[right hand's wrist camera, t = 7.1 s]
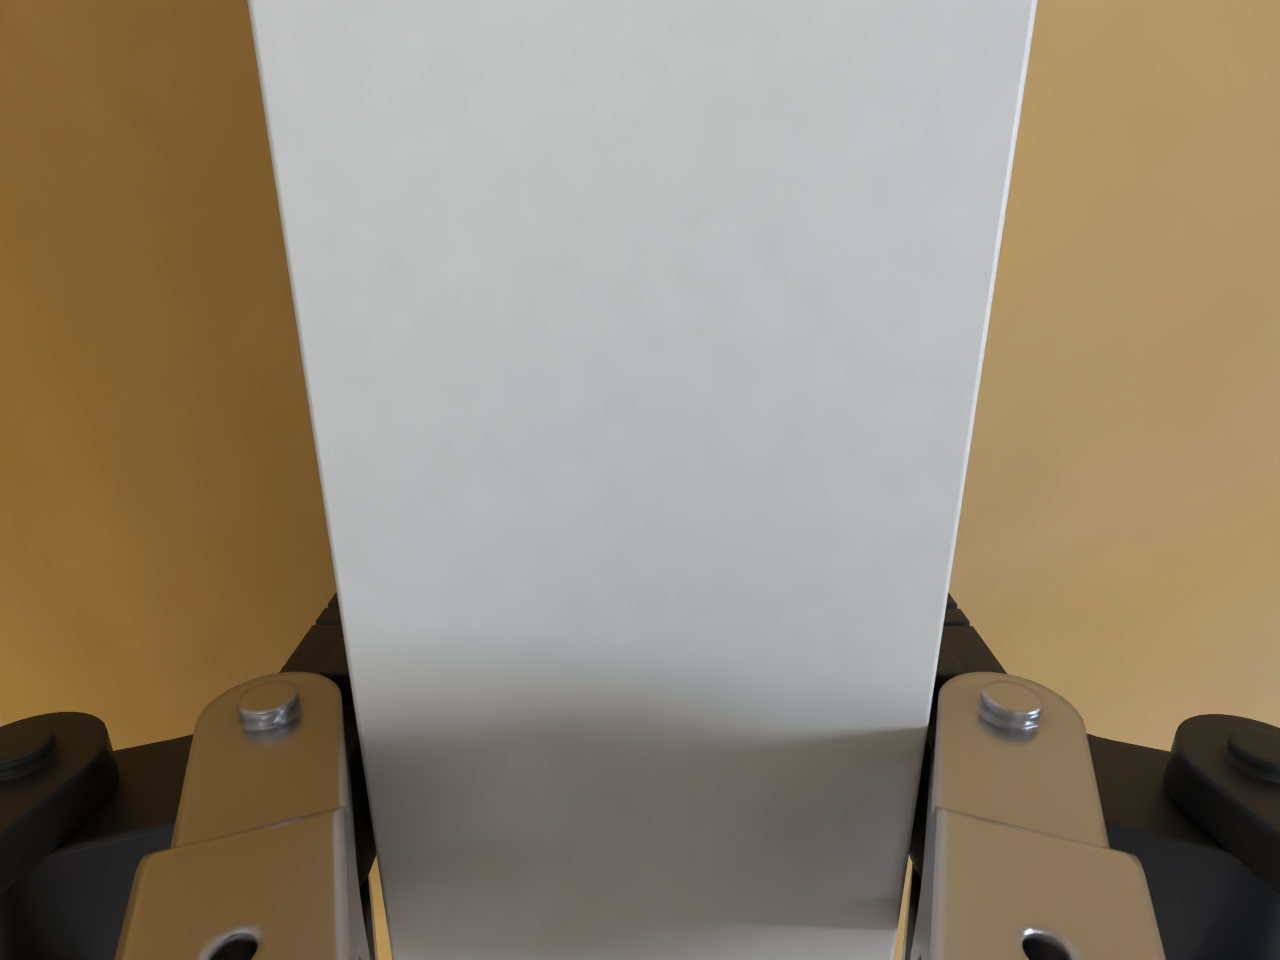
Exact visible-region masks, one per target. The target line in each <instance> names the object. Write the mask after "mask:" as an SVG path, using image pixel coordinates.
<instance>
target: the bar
mask: <svg viewBox="0 0 1280 960" xmlns="http://www.w3.org/2000/svg"><path fill="white" fill-rule="evenodd" d="M247 1H248V8H249V14H250V21H251V27H252V34H253V41H254V47H255V54H256V61H257V67H258V74H259V80H260V87H261V94H262V100H263V107H264V113H265V120H266V127H267V133H268V140H269V146H270V153H271V160H272V166H273V173H274V179H275V186H276V193H277V199H278V206H279V212H280V219H281V226H282V232H283V239H284V246H285V252H286V259H287V265H288V272H289V279H290V285H291V292H292V298H293V305H294V312H295V318H296V325H297V331H298V338H299V345H300V351H301V358H302V364H303V371H304V378H305V384H306V391H307V397H308V404H309V411H310V417H311V424H312V431H313V437H314V444H315V450H316V457H317V464H318V470H319V477H320V483H321V490H322V497H323V503H324V510H325V516H326V523H327V530H328V536H329V543H330V549H331V556H332V563H333V569H334V576H335V583H336V589H337V596H338V602H339V609H340V616H341V622H342V629H343V635H344V642H345V649H346V655H347V662H348V668H349V675H350V682H351V688H352V695H353V701H354V708H355V715H356V721H357V728H358V734H359V741H360V748H361V754H362V761H363V768H364V774H365V781H366V787H367V794H368V801H369V807H370V814H371V820H372V827H373V834H374V840H375V847H376V853H377V860H378V867H379V873H380V880H381V886H382V893H383V900H384V906H385V913H386V919H387V926H388V933H389V939H390V946H391V953H392V959H393V960H893V955H894V948H895V942H896V935H897V928H898V922H899V915H900V909H901V902H902V895H903V889H904V882H905V875H906V869H907V862H908V855H909V849H910V842H911V836H912V829H913V822H914V816H915V809H916V802H917V796H918V789H919V782H920V776H921V769H922V763H923V756H924V749H925V743H926V736H927V729H928V723H929V716H930V709H931V703H932V696H933V690H934V683H935V676H936V670H937V663H938V656H939V650H940V643H941V636H942V630H943V623H944V617H945V610H946V603H947V597H948V590H949V583H950V577H951V570H952V563H953V557H954V550H955V544H956V537H957V530H958V524H959V517H960V510H961V504H962V497H963V490H964V484H965V477H966V471H967V464H968V457H969V451H970V444H971V437H972V431H973V424H974V417H975V411H976V404H977V397H978V391H979V384H980V378H981V371H982V364H983V358H984V351H985V344H986V338H987V331H988V324H989V318H990V311H991V305H992V298H993V291H994V285H995V278H996V271H997V265H998V258H999V251H1000V245H1001V238H1002V232H1003V225H1004V218H1005V212H1006V205H1007V198H1008V192H1009V185H1010V178H1011V172H1012V165H1013V159H1014V152H1015V145H1016V139H1017V132H1018V125H1019V119H1020V112H1021V105H1022V99H1023V92H1024V86H1025V79H1026V72H1027V66H1028V59H1029V52H1030V46H1031V39H1032V32H1033V26H1034V19H1035V13H1036V6H1037V0H247Z"/></svg>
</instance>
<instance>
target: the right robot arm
mask: <svg viewBox="0 0 1280 960" xmlns="http://www.w3.org/2000/svg"><path fill="white" fill-rule="evenodd" d="M376 854H377V853H376V847H375V840H374V834H373V827H372V820H371V814H370V807H369V801H368V794H367V787H366V781H365V774H364V768H363V761H362V754H361V748H360V741H359V734H358V728H357V721H356V715H355V708H354V701H353V695H352V688H351V682H350V675H349V668H348V662H347V655H346V649H345V642H344V635H343V629H342V622H341V616H340V609H339V602H338V596H337V592H336V594H335V595H334V596H333V598H332V599H331V601H330V602H329V603H328V608H325V609H324V610H323V612H322V613H321V615H320V616H319V617H318V619H317V620H316V625H313V626H312V627H311V629H310V630H309V631H308V633H307V634H306V636H305V637H304V638H303V640H302V641H301V643H300V644H299V645H298V647H297V648H296V650H295V651H294V653H293V654H292V655H291V657H290V658H289V660H288V661H287V662H286V664H285V665H284V667H283V668H282V669H281V671H280V672H279V673H277V674H271V675H267V676H263V677H259V678H256V679H253V680H250V681H247V682H245V683H242V684H240V685H238V686H236V687H234V688H232V689H230V690H228V691H226V692H225V693H223V694H222V695H220V696H218V697H217V698H216V699H215V700H213V701H212V702H211V703H210V704H209V705H208V706H207V707H206V708H205V709H204V710H203V711H202V713H201V714H200V716H199V717H198V719H197V722H196V725H195V729H194V734H193V735H189V736H185V737H181V738H176V739H171V740H166V741H161V742H156V743H151V744H146V745H141V746H136V747H131V748H126V749H121V750H116V751H113V749H112V746H111V742H110V738H109V735H108V731H107V728H106V726H105V724H104V723H103V722H102V721H101V720H100V719H99V718H97V717H95V716H93V715H90V714H86V713H79V712H58V713H49V714H44V715H38V716H33V717H30V718H26V719H23V720H19V721H16V722H13V723H10V724H7V725H4V726H2V727H0V960H378V955H377V944H376V932H375V921H374V909H373V898H372V890H371V883H370V877H369V872H370V870H371V867H372V865H373V862H374V859H375V857H376ZM909 855H910V858H911V860H912V863H913V864H912V870H911V877H910V883H909V890H908V898H907V909H906V921H905V932H904V944H903V955H902V960H1280V728H1278V727H1275V726H1272V725H1269V724H1266V723H1263V722H1260V721H1256V720H1252V719H1248V718H1243V717H1238V716H1232V715H1223V714H1207V715H1199V716H1195V717H1191V718H1189V719H1187V720H1185V721H1183V722H1182V723H1181V724H1180V725H1179V727H1178V729H1177V731H1176V734H1175V738H1174V741H1173V745H1172V749H1171V752H1169V751H1164V750H1158V749H1153V748H1148V747H1143V746H1138V745H1133V744H1128V743H1123V742H1118V741H1113V740H1109V739H1105V738H1100V737H1096V736H1093V735H1090V734H1087V733H1086V729H1085V725H1084V722H1083V719H1082V717H1081V716H1080V714H1079V713H1078V711H1077V710H1076V709H1075V708H1074V707H1073V706H1072V705H1071V704H1070V703H1069V702H1068V701H1067V700H1065V699H1064V698H1063V697H1062V696H1060V695H1058V694H1057V693H1055V692H1054V691H1052V690H1050V689H1048V688H1046V687H1044V686H1042V685H1040V684H1038V683H1035V682H1033V681H1030V680H1027V679H1024V678H1021V677H1017V676H1013V675H1009V674H1007V673H1006V672H1005V670H1004V669H1003V668H1002V666H1001V665H1000V663H999V662H998V661H997V659H996V658H995V656H994V655H993V654H992V652H991V651H990V650H989V648H988V647H987V645H986V644H985V643H984V641H983V640H982V638H981V637H980V636H979V634H978V633H977V632H976V630H975V629H974V627H973V626H970V625H969V620H968V619H967V618H966V616H965V615H964V614H963V612H962V611H961V609H957V604H956V602H955V601H954V600H953V598H952V597H951V596H950V594H949V593H948V597H947V603H946V610H945V617H944V623H943V630H942V636H941V643H940V650H939V656H938V663H937V670H936V676H935V683H934V690H933V696H932V703H931V709H930V716H929V723H928V729H927V736H926V743H925V749H924V756H923V763H922V769H921V776H920V782H919V789H918V796H917V802H916V809H915V816H914V822H913V829H912V836H911V842H910V849H909Z"/></svg>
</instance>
